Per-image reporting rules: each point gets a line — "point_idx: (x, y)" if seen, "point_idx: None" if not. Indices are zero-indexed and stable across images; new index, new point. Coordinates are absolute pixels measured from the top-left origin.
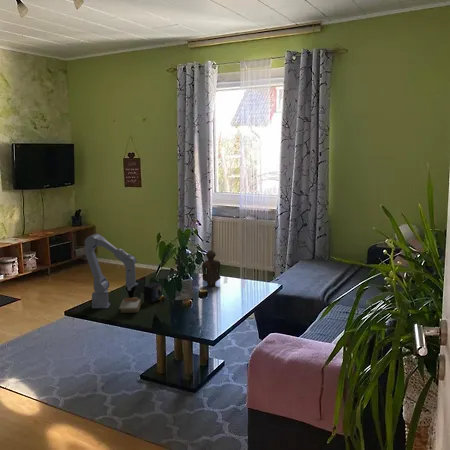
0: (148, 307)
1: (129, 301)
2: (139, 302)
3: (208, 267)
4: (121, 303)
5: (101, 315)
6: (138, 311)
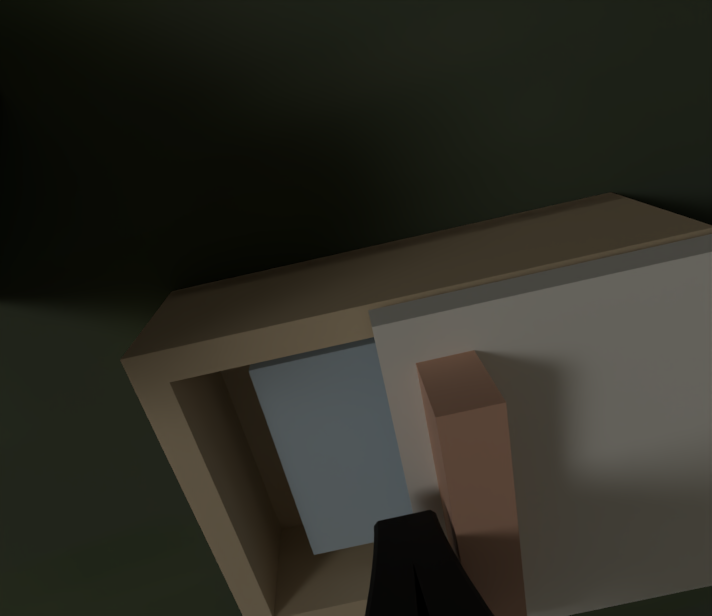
0: (272, 71)
1: (522, 510)
2: (432, 290)
3: None
4: (657, 593)
5: (690, 613)
6: (590, 200)
